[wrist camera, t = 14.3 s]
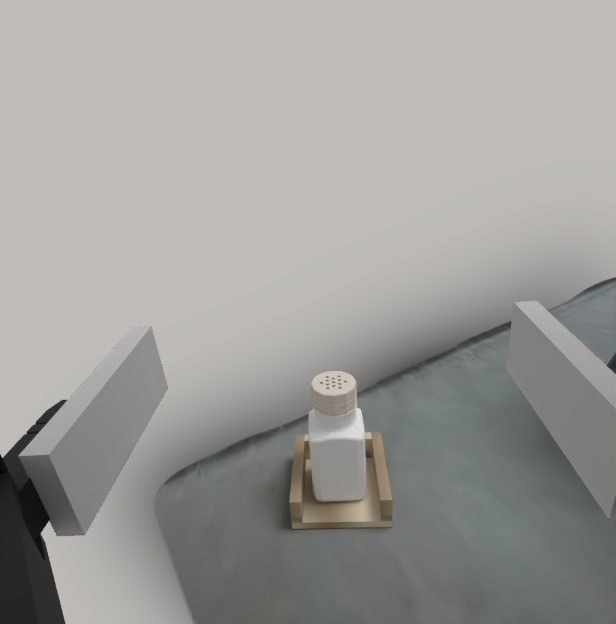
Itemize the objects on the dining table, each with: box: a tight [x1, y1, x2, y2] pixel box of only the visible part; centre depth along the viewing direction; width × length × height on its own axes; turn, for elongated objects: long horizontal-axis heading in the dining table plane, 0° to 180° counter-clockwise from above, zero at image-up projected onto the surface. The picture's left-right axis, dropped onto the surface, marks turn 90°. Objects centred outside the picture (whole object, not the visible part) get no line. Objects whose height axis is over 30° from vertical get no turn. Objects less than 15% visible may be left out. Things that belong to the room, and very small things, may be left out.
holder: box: [289, 432, 392, 529], centre depth 34 cm, size 7×7×3 cm
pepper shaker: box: [309, 371, 366, 502], centre depth 33 cm, size 4×4×10 cm
